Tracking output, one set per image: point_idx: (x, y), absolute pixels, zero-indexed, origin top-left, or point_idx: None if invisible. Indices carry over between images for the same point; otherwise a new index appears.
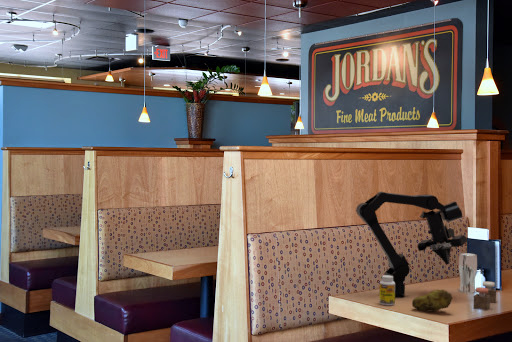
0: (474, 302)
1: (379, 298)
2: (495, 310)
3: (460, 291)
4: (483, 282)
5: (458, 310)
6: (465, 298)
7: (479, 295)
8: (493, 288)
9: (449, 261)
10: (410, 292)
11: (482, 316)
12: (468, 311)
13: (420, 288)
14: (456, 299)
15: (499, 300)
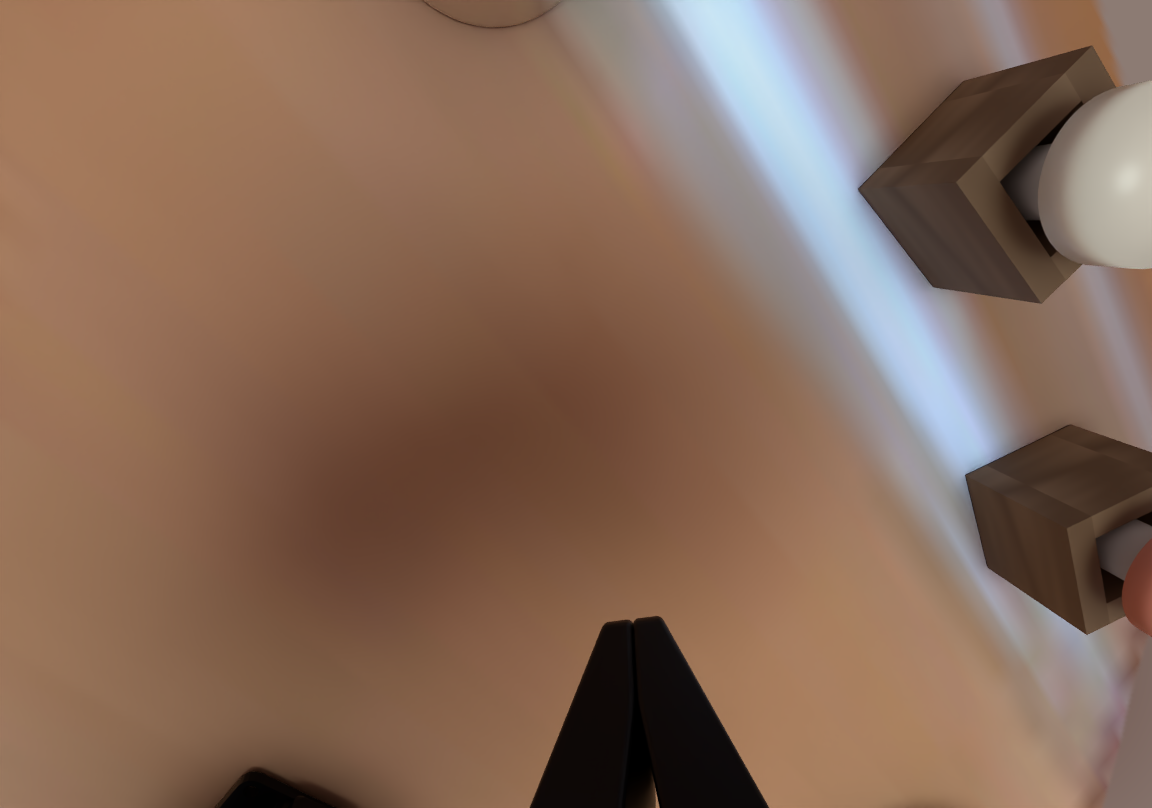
0: (1038, 595)
1: None
2: None
3: (449, 16)
4: (1104, 246)
5: (941, 716)
6: (734, 314)
7: (1123, 579)
8: (1090, 54)
9: (678, 648)
10: (213, 640)
11: (1130, 685)
12: (1004, 672)
13: (39, 373)
14: (708, 441)
15: (1014, 31)
